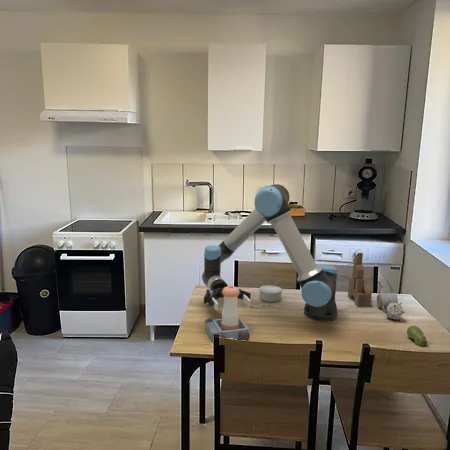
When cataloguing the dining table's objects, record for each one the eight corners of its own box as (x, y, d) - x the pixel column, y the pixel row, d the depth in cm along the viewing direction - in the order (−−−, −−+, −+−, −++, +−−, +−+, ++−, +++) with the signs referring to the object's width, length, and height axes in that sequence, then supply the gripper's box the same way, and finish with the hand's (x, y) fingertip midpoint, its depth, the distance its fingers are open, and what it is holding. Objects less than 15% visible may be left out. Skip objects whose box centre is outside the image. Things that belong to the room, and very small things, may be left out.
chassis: (237, 323, 186) (237, 314, 185) (250, 340, 171) (251, 331, 170) (203, 327, 181) (203, 318, 180) (214, 345, 166) (214, 335, 165)
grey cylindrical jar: (374, 305, 210) (376, 290, 208) (391, 305, 210) (393, 290, 208) (382, 314, 200) (383, 298, 198) (400, 314, 200) (401, 299, 198)
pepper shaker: (218, 332, 174) (219, 287, 170) (224, 325, 181) (225, 281, 177) (235, 335, 172) (236, 289, 168) (241, 328, 179) (242, 283, 175)
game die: (395, 325, 196) (410, 309, 195) (395, 326, 188) (410, 309, 187) (379, 312, 200) (393, 295, 199) (378, 312, 192) (393, 295, 191)
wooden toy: (371, 307, 207) (376, 256, 202) (357, 307, 207) (362, 256, 202) (359, 295, 222) (363, 248, 217) (346, 295, 222) (350, 248, 217)
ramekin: (279, 294, 220) (279, 285, 219) (283, 303, 209) (283, 293, 208) (257, 294, 220) (257, 284, 219) (260, 303, 209) (260, 292, 208)
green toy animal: (418, 323, 178) (432, 337, 168) (415, 333, 180) (429, 349, 170) (405, 323, 177) (419, 338, 168) (402, 334, 179) (416, 349, 170)
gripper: (244, 292, 195) (262, 311, 175) (190, 297, 187) (203, 317, 167) (244, 276, 193) (263, 293, 173) (190, 281, 186) (203, 299, 166)
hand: (233, 305), depth 170 cm, fingers open, 13 cm apart
